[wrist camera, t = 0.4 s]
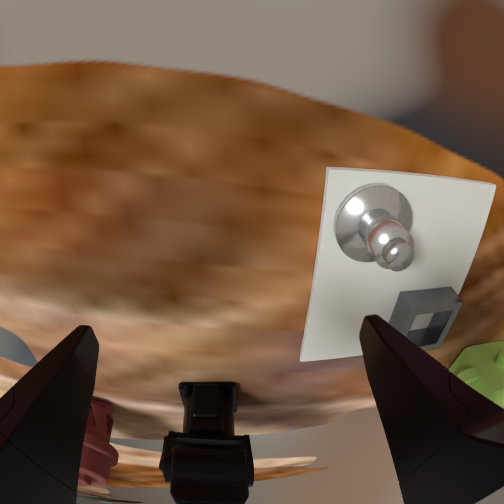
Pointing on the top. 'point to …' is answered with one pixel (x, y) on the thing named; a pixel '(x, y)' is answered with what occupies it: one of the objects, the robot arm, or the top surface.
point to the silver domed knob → (375, 226)
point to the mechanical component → (97, 446)
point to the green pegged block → (483, 369)
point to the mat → (385, 280)
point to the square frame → (426, 302)
